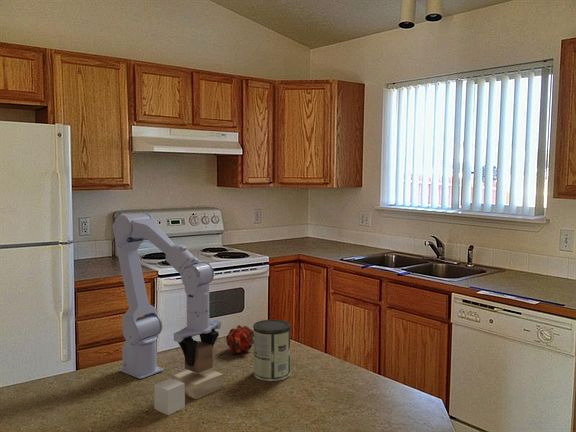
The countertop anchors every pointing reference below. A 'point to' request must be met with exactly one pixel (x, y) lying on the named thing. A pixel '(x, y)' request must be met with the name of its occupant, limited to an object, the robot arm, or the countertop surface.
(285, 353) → the coffee can
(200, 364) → the walnut block
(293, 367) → the countertop surface
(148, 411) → the countertop surface
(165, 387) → the off-white block
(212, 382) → the birch base block
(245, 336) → the dragon fruit
